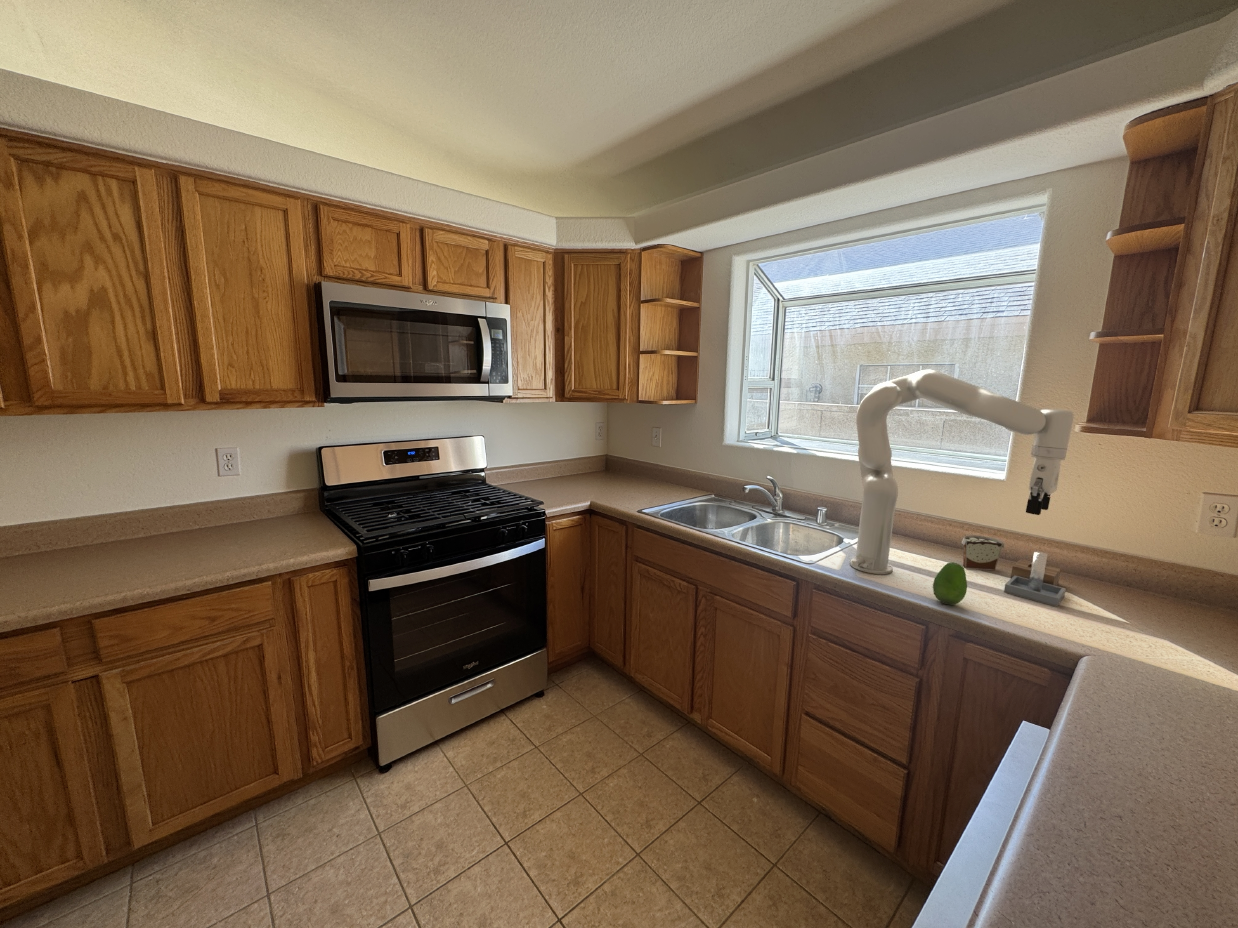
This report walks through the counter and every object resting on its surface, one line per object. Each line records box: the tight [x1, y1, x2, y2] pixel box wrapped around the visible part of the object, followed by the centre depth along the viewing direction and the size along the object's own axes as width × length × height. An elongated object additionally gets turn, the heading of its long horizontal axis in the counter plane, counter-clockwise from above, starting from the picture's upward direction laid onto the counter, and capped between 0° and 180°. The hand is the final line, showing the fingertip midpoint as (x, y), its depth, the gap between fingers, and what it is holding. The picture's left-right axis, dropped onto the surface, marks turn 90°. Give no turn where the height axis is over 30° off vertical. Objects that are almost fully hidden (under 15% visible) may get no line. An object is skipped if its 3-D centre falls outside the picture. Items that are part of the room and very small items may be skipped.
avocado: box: [932, 562, 968, 605], centre depth 137 cm, size 8×8×12 cm
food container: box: [961, 534, 1005, 571], centre depth 166 cm, size 12×6×10 cm, turn 84°
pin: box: [1028, 551, 1048, 593], centre depth 144 cm, size 3×3×12 cm
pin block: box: [1010, 558, 1062, 586], centre depth 154 cm, size 10×10×5 cm
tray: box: [1003, 575, 1067, 608], centre depth 145 cm, size 11×12×2 cm
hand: (1036, 511), depth 143 cm, fingers open, 9 cm apart
